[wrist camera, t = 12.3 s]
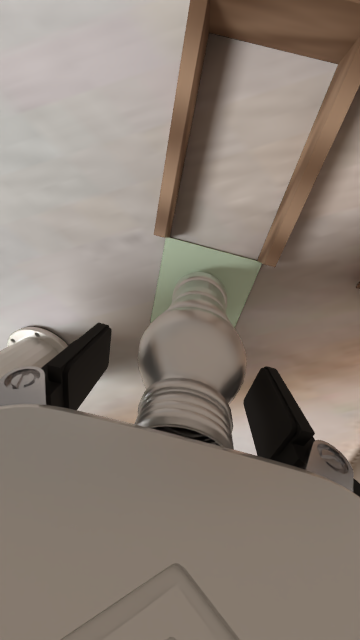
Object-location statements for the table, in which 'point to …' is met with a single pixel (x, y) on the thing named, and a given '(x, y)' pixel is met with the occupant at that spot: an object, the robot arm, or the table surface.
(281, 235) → the bottle rack
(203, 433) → the plastic bottle
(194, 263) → the mat
